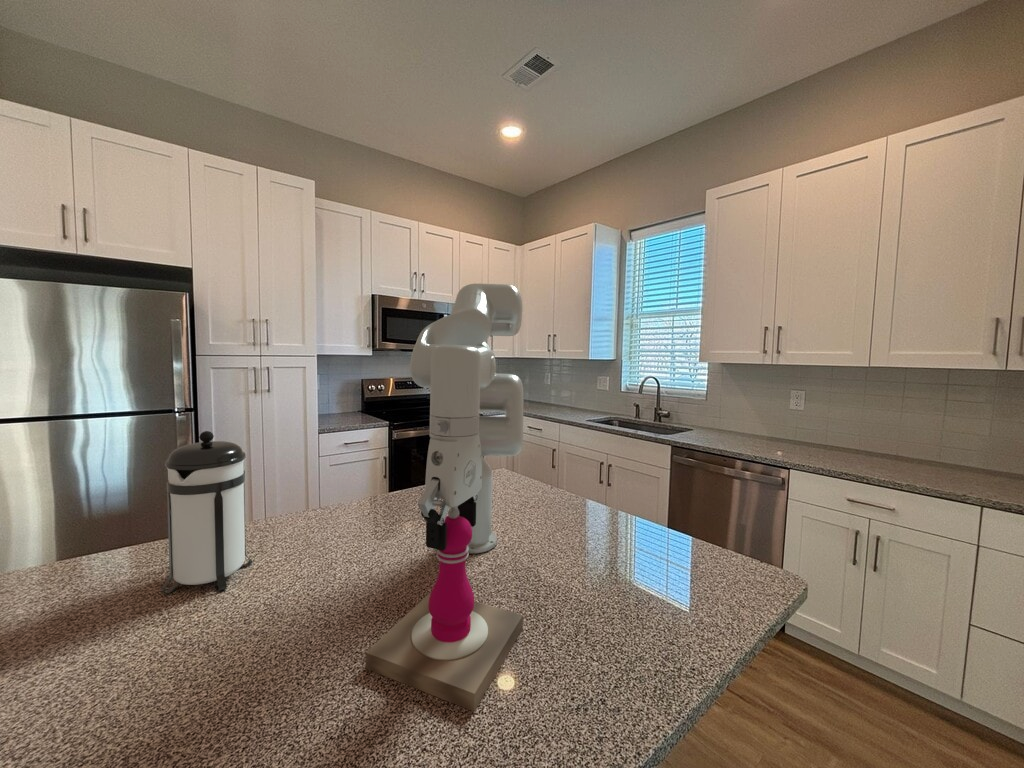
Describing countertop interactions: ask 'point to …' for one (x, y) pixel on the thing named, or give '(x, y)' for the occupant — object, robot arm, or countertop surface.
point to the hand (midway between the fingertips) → (452, 535)
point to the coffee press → (205, 512)
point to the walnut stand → (447, 653)
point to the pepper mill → (452, 583)
